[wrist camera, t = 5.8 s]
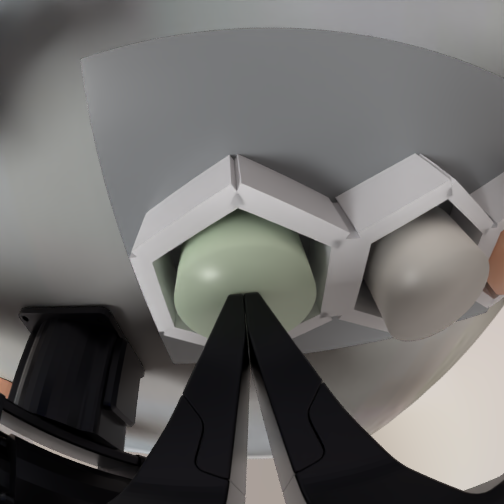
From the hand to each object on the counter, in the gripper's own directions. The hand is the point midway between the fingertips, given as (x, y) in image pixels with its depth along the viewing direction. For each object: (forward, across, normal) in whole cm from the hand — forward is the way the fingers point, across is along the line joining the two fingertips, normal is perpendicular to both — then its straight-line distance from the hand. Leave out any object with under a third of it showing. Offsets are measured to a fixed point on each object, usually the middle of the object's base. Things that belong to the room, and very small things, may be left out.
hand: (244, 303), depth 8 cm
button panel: (+4, -6, 0) cm, 7 cm away
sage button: (+2, 0, 0) cm, 2 cm away
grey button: (+1, -6, 0) cm, 6 cm away
